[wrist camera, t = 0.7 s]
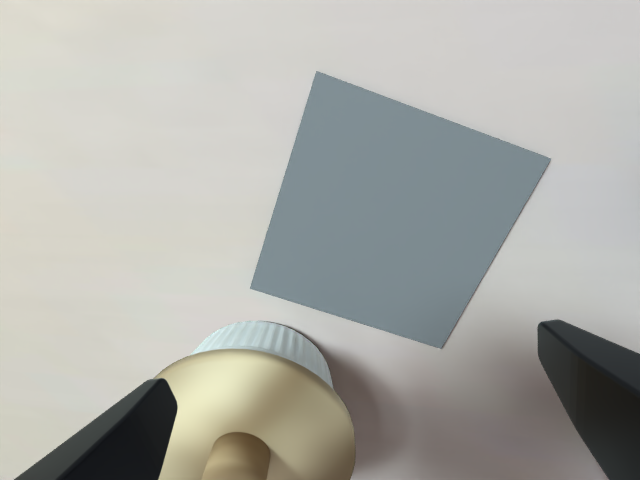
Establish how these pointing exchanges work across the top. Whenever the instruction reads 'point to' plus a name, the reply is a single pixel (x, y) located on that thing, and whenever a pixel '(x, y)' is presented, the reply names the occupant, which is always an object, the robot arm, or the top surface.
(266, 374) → the lid
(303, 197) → the mat
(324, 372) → the ramekin
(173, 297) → the top surface
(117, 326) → the top surface
